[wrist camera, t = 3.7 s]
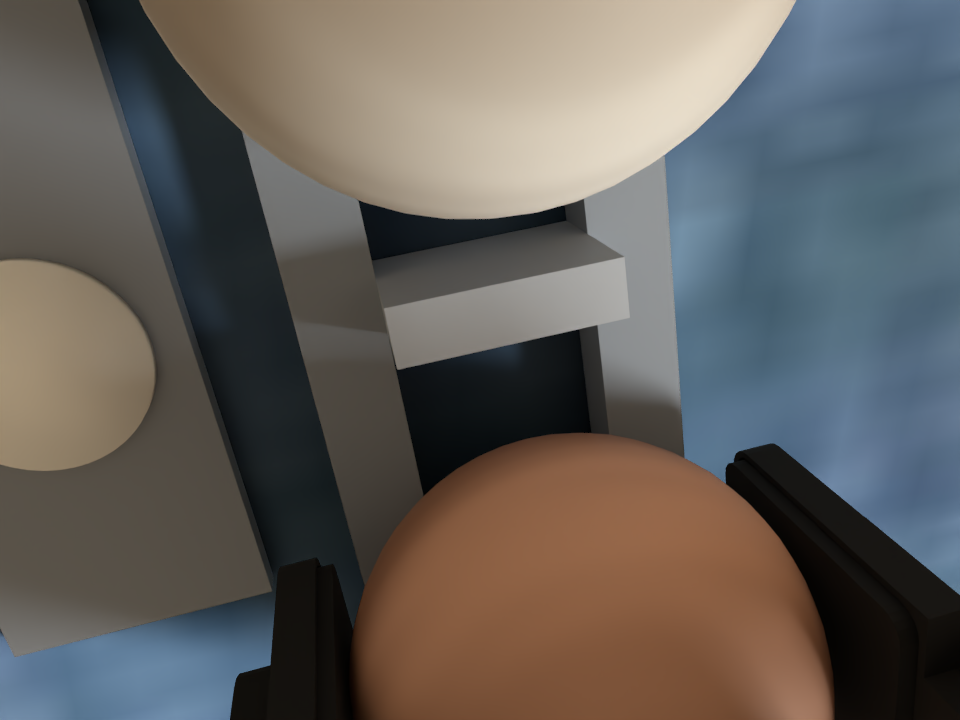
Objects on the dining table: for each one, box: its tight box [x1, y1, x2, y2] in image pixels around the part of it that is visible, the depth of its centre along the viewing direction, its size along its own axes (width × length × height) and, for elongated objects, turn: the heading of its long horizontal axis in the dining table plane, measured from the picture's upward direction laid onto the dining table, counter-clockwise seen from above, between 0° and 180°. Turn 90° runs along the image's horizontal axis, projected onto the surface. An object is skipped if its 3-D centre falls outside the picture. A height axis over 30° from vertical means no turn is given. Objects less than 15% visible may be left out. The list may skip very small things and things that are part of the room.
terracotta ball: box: [349, 433, 835, 720], centre depth 10 cm, size 6×6×6 cm
